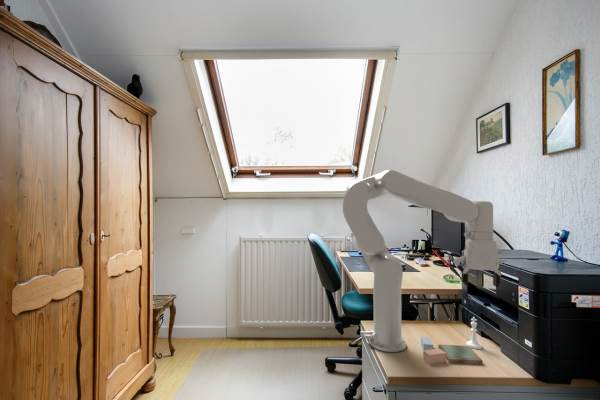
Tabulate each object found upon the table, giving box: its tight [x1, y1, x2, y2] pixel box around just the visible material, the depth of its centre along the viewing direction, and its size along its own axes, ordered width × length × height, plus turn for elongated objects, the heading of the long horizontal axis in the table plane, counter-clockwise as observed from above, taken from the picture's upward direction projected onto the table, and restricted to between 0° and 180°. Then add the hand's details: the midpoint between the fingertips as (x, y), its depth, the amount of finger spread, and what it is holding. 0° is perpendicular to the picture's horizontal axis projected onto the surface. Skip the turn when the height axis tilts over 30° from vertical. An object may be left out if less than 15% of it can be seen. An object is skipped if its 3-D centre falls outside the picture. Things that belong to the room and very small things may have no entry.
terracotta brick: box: [422, 348, 447, 365], centre depth 99 cm, size 6×3×3 cm, turn 102°
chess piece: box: [465, 316, 483, 350], centre depth 109 cm, size 5×5×10 cm
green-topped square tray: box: [437, 344, 483, 365], centre depth 102 cm, size 10×10×1 cm
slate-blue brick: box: [420, 336, 434, 351], centre depth 107 cm, size 6×3×3 cm, turn 167°
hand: (480, 285), depth 109 cm, fingers open, 9 cm apart
